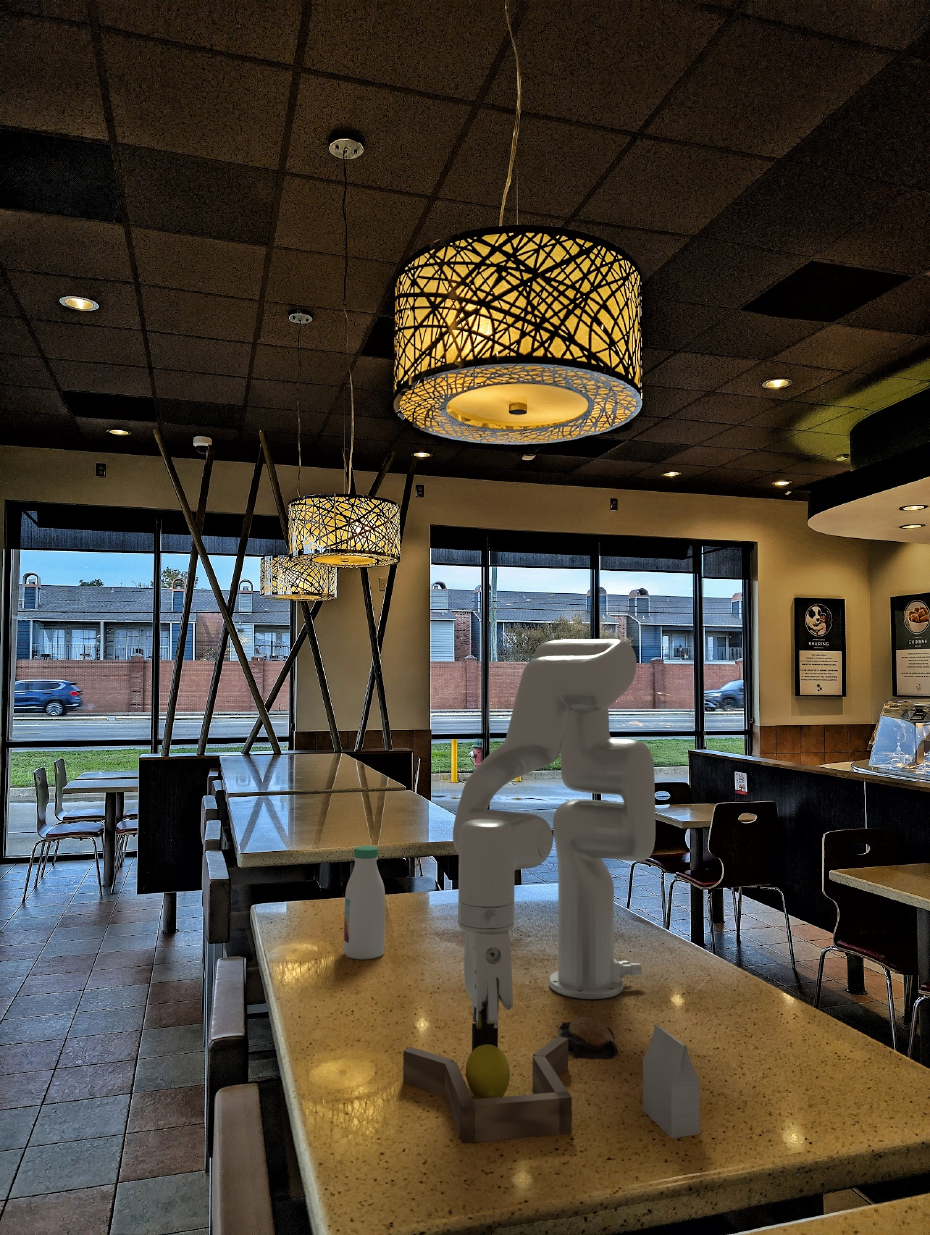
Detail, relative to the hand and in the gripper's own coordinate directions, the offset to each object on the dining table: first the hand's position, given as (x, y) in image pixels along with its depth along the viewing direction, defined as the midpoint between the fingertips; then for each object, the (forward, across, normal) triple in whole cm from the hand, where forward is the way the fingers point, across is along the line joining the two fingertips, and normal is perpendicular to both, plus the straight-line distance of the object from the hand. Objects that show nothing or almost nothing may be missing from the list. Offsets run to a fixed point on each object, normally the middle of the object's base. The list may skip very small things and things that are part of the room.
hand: (484, 1055), depth 115 cm
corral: (+3, -7, -1) cm, 8 cm away
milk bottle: (+3, +54, +13) cm, 55 cm away
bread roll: (+3, +8, -17) cm, 19 cm away
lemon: (-2, -1, 0) cm, 2 cm away
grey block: (+3, -15, -20) cm, 25 cm away
